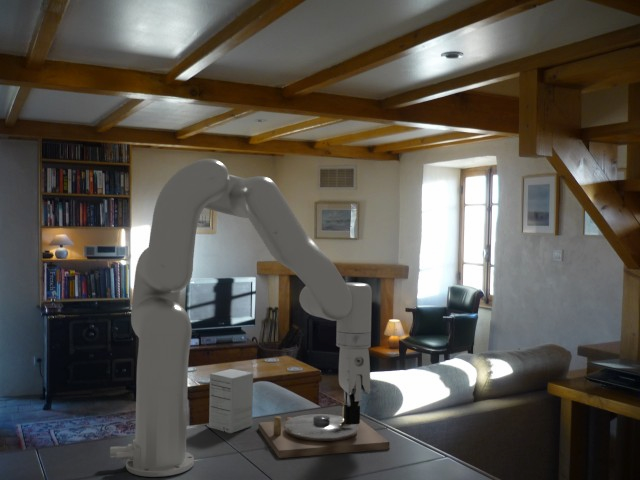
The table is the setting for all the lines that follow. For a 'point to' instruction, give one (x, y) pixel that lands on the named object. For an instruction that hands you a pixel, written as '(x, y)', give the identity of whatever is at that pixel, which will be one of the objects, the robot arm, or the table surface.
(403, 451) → the table surface
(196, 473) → the table surface
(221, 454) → the table surface
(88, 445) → the table surface
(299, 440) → the base board
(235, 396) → the supplement box
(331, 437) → the flange plate
